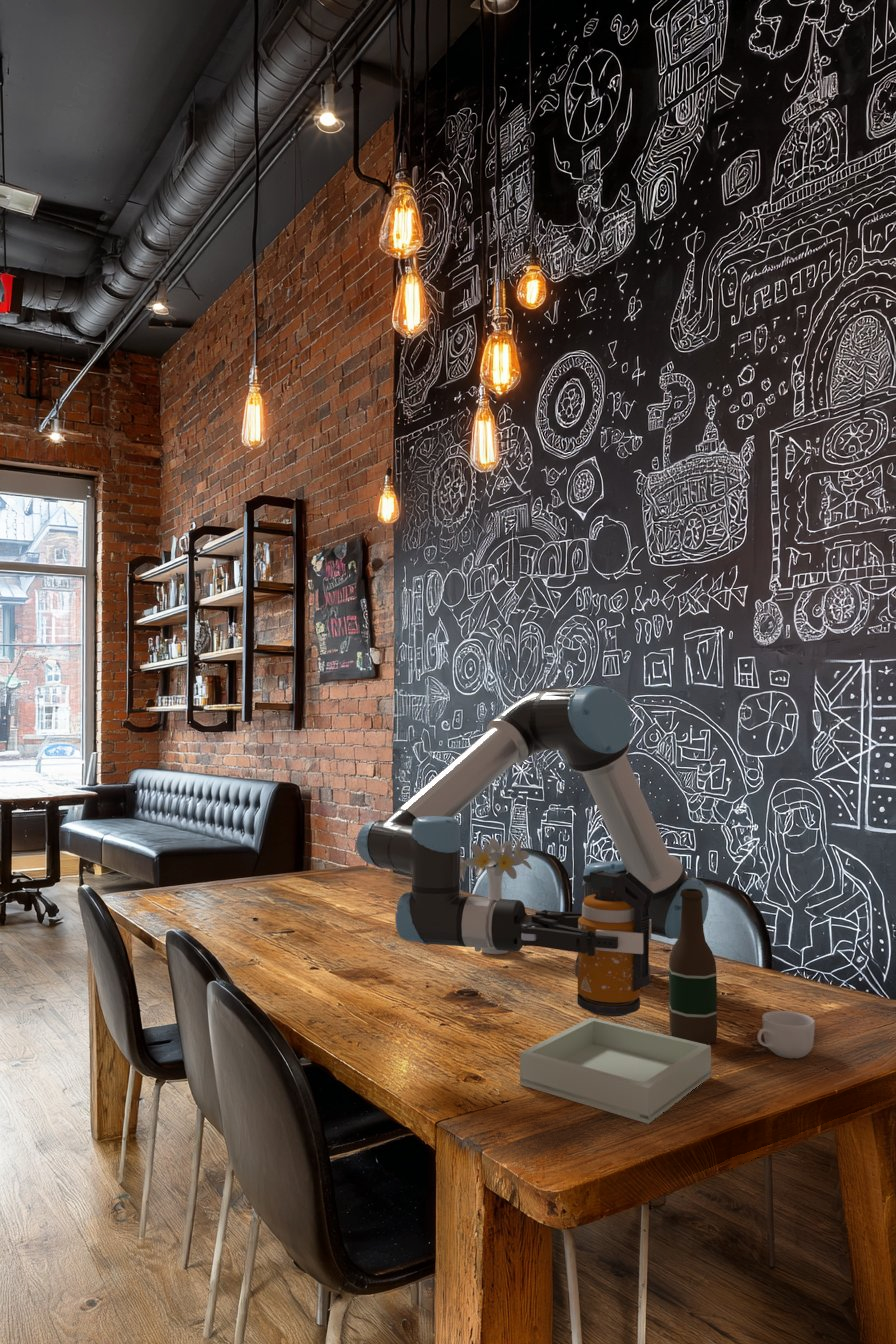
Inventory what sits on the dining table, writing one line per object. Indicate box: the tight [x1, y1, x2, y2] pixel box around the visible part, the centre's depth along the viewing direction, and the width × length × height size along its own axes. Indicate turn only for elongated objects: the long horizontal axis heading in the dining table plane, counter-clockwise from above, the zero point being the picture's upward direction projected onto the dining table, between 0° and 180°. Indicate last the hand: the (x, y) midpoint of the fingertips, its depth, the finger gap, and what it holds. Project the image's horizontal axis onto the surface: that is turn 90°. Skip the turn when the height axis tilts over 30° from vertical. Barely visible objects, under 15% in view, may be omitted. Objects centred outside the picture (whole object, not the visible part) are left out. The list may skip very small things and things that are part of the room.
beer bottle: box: [668, 889, 718, 1045], centre depth 150 cm, size 8×8×24 cm
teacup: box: [757, 1010, 816, 1059], centre depth 142 cm, size 10×8×5 cm
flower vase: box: [460, 837, 533, 956], centre depth 205 cm, size 13×18×25 cm
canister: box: [576, 870, 654, 1018], centre depth 132 cm, size 9×11×20 cm
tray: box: [519, 1017, 712, 1125], centre depth 132 cm, size 20×20×4 cm
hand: (647, 936), depth 131 cm, fingers closed on canister, 9 cm apart
